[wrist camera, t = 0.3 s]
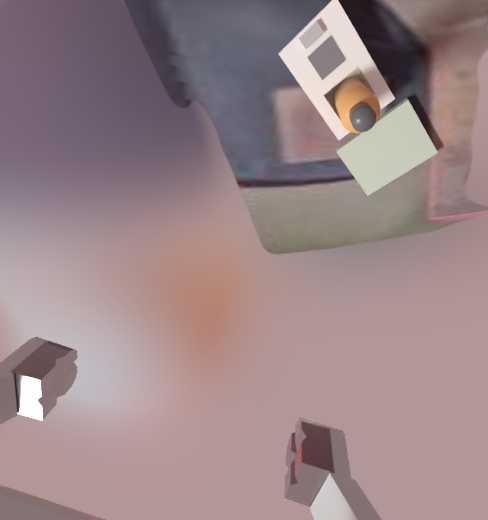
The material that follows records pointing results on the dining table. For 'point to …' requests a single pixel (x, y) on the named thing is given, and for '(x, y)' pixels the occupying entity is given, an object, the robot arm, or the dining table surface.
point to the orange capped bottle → (356, 105)
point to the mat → (387, 148)
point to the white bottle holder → (332, 62)
